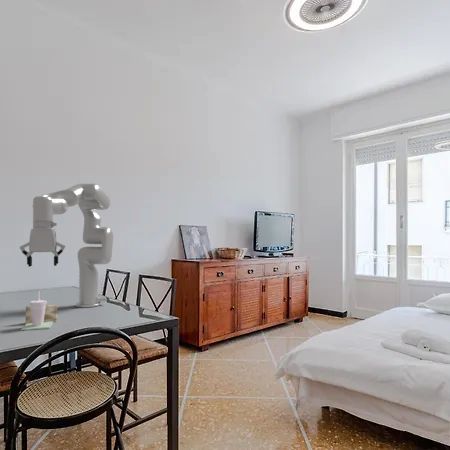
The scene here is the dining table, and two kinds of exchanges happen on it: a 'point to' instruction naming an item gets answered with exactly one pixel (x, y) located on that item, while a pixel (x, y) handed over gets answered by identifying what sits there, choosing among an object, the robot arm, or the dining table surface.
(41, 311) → the smoothie
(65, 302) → the dining table surface
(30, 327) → the mat
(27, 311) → the screen
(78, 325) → the dining table surface
